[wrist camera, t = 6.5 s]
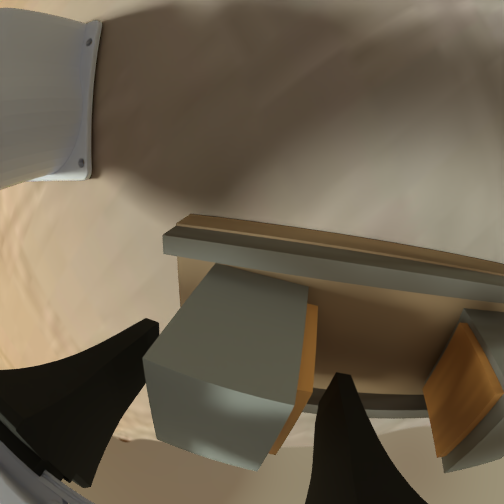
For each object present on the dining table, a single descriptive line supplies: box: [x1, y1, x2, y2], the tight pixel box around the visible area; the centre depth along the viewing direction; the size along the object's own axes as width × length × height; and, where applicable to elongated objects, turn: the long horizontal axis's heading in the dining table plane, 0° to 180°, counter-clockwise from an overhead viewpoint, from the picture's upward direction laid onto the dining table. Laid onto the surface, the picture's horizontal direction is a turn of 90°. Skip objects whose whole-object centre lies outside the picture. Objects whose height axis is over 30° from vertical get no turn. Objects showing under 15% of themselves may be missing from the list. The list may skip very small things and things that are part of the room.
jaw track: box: [163, 214, 504, 473], centre depth 10 cm, size 9×18×8 cm, turn 86°
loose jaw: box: [143, 263, 318, 471], centre depth 10 cm, size 5×4×6 cm
